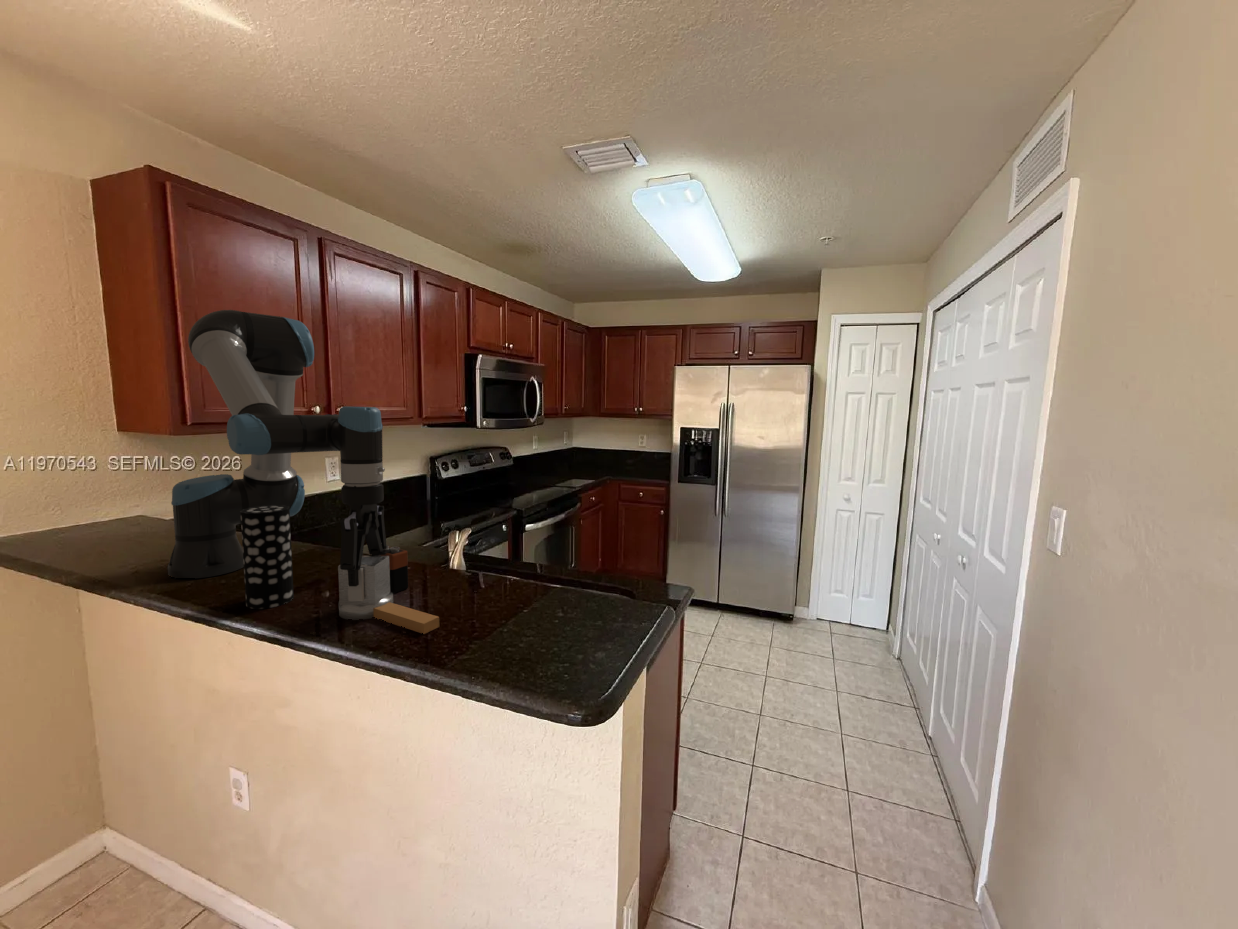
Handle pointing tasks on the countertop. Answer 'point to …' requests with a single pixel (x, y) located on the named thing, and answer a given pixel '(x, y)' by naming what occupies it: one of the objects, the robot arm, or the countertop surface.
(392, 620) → the ratchet
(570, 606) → the countertop surface
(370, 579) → the recessed metal cube
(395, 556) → the battery
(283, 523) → the white-spotted black cylinder
